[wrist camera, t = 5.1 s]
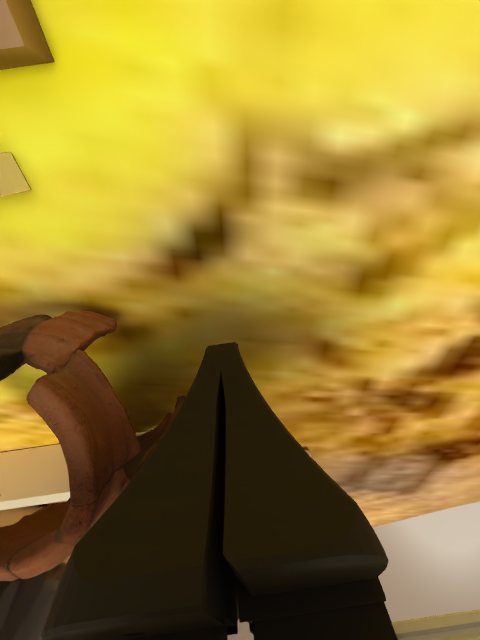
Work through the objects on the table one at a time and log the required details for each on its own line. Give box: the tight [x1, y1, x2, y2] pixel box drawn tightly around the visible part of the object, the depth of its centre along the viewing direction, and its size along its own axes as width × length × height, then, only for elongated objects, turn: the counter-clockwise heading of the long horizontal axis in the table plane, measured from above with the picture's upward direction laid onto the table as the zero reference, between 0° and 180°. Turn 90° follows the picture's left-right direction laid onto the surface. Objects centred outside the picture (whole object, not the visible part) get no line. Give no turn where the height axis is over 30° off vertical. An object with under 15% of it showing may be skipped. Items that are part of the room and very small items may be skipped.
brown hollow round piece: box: [0, 311, 186, 581], centre depth 11 cm, size 12×10×8 cm
